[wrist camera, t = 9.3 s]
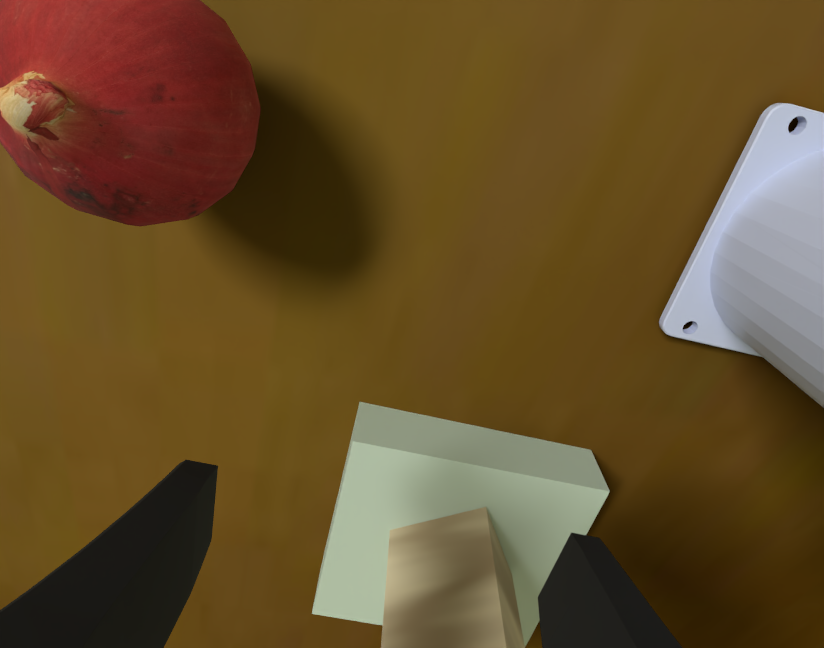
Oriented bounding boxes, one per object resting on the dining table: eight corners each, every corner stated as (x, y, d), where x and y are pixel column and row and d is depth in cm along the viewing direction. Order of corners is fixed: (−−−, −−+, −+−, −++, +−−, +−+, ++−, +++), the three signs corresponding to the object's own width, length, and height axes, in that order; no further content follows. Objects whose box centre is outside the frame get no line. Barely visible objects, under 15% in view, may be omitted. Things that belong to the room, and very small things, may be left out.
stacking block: (586, 440, 22) (609, 491, 20) (513, 590, 27) (524, 648, 24) (361, 394, 21) (352, 440, 19) (322, 557, 26) (311, 613, 23)
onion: (271, 213, 18) (166, 310, 10) (98, 163, 17) (-140, 229, 10) (304, 25, 15) (197, -18, 8) (103, -42, 15) (-210, -155, 7)
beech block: (486, 506, 20) (508, 665, 15) (511, 574, 22) (541, 739, 16) (389, 530, 21) (377, 689, 15) (422, 594, 22) (421, 759, 17)
